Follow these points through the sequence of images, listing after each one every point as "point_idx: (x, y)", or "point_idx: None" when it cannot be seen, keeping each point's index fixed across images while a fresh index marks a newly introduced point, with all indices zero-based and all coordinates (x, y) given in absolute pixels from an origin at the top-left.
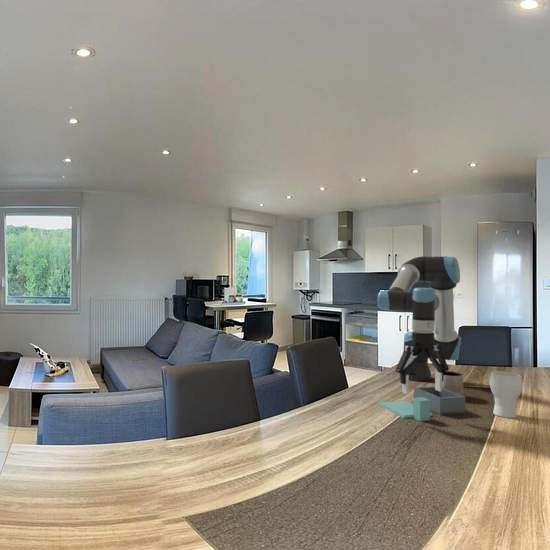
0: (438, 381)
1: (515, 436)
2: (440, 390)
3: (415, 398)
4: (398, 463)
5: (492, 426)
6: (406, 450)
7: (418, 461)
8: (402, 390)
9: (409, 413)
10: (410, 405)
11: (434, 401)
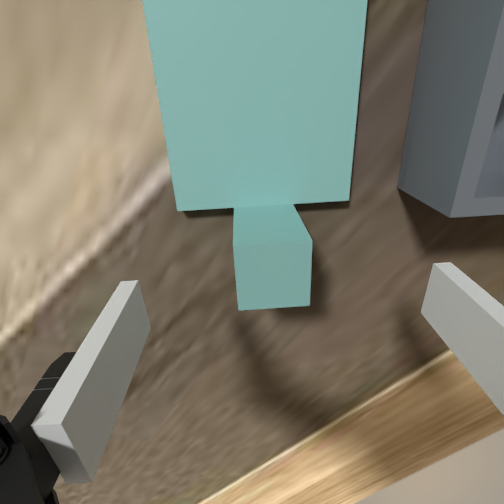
0: (472, 353)
1: (450, 406)
2: (430, 317)
3: (238, 261)
4: None
5: None
6: None
7: (77, 486)
8: (117, 295)
9: (226, 183)
10: (332, 9)
11: (441, 149)
